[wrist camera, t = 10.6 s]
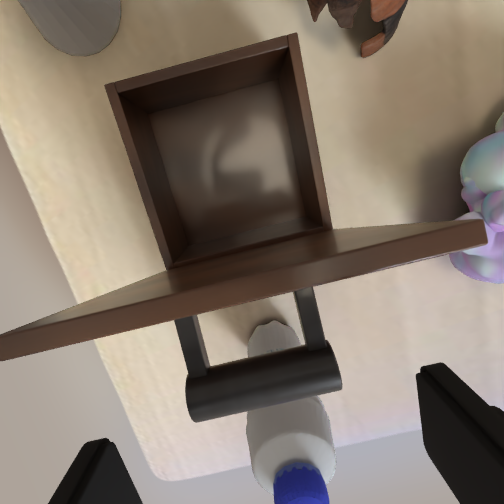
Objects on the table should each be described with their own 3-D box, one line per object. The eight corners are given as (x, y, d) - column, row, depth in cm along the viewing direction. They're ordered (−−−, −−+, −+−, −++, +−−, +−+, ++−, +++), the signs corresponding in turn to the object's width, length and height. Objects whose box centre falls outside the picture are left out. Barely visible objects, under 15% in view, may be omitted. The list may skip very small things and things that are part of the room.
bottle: (275, 303, 35) (313, 457, 16) (310, 340, 36) (384, 524, 17) (234, 337, 36) (222, 521, 16) (269, 371, 37) (296, 580, 18)
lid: (-11, 338, 9) (37, 496, 9) (485, 217, 8) (520, 389, 8) (164, 270, 25) (179, 327, 25) (334, 229, 25) (347, 287, 25)
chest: (140, 109, 29) (103, 84, 22) (283, 71, 29) (297, 31, 21) (185, 252, 33) (167, 273, 26) (313, 220, 33) (333, 232, 25)
